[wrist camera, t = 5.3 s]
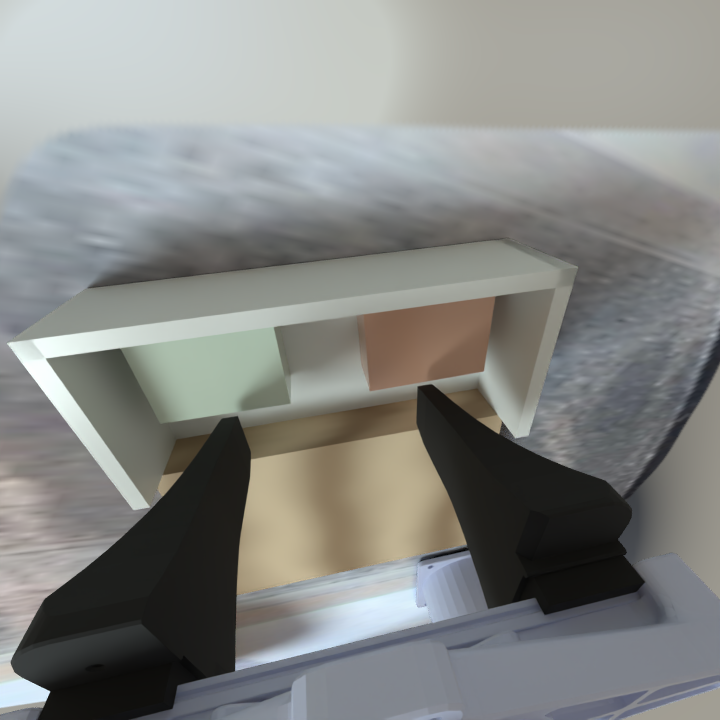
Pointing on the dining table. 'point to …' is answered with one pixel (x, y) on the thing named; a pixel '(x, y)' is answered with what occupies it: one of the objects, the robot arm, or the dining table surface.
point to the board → (339, 492)
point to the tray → (290, 342)
